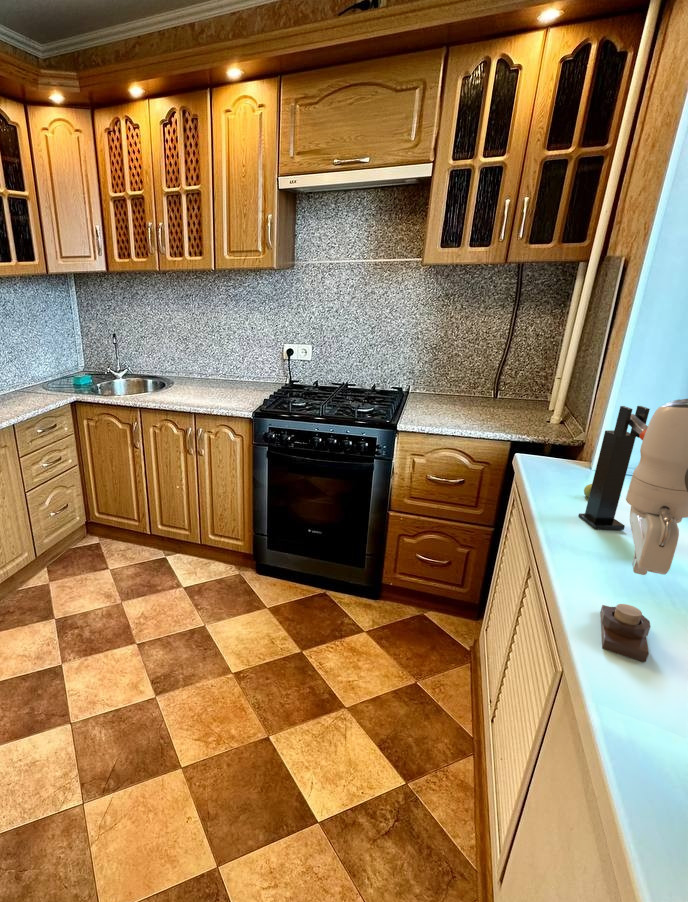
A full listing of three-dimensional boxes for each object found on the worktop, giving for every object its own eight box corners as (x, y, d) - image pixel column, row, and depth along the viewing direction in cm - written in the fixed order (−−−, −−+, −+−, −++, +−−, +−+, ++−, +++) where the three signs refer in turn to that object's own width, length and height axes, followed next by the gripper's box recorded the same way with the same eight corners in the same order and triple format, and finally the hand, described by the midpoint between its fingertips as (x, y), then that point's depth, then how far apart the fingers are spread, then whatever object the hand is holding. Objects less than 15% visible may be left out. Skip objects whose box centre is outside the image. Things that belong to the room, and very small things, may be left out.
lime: (578, 496, 150) (584, 480, 148) (594, 495, 151) (599, 480, 149) (590, 503, 146) (596, 487, 144) (606, 503, 147) (612, 486, 145)
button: (613, 611, 95) (615, 601, 95) (638, 617, 93) (641, 607, 93) (614, 621, 93) (616, 611, 92) (640, 628, 91) (643, 618, 90)
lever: (665, 452, 116) (672, 440, 114) (650, 452, 116) (657, 440, 114) (632, 422, 126) (638, 410, 124) (618, 422, 126) (623, 410, 124)
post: (623, 529, 131) (657, 409, 120) (594, 529, 132) (625, 409, 121) (605, 517, 138) (635, 402, 127) (577, 517, 138) (605, 402, 128)
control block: (598, 613, 101) (603, 595, 99) (641, 624, 97) (646, 606, 96) (600, 649, 91) (605, 630, 90) (647, 662, 88) (653, 643, 86)
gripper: (699, 527, 75) (670, 607, 80) (678, 480, 91) (655, 549, 96) (643, 516, 78) (619, 594, 83) (632, 472, 94) (613, 540, 99)
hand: (638, 570), depth 90 cm, fingers closed
